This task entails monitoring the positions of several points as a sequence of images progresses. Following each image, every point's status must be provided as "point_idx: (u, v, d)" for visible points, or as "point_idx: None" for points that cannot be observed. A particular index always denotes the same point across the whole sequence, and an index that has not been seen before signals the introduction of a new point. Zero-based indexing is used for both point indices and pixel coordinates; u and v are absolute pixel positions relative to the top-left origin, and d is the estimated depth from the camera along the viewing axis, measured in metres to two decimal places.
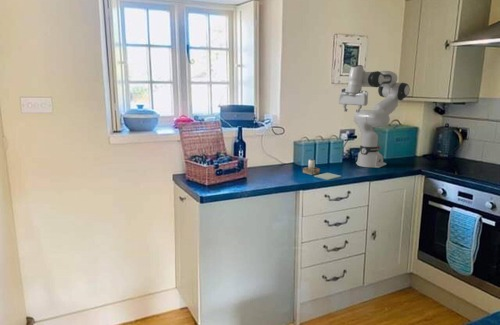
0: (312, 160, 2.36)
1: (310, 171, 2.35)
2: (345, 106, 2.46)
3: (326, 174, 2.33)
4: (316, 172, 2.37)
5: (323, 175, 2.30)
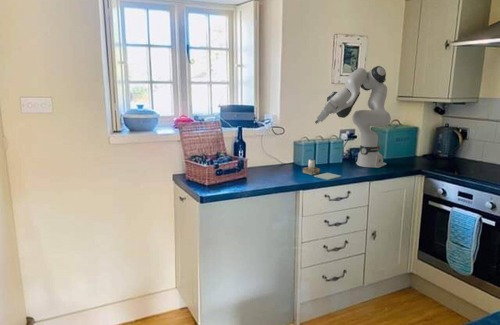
0: (312, 160, 2.36)
1: (310, 171, 2.35)
2: (320, 114, 2.37)
3: (326, 174, 2.33)
4: (316, 172, 2.37)
5: (323, 175, 2.30)
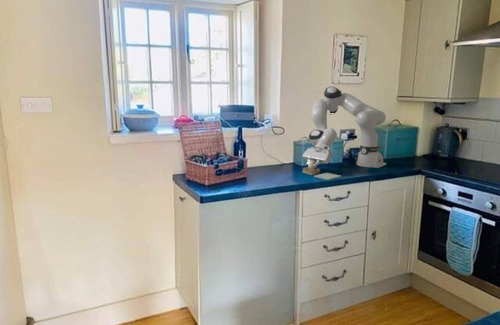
0: (312, 160, 2.36)
1: (310, 171, 2.35)
2: (317, 161, 2.36)
3: (326, 174, 2.33)
4: (316, 172, 2.37)
5: (323, 175, 2.30)
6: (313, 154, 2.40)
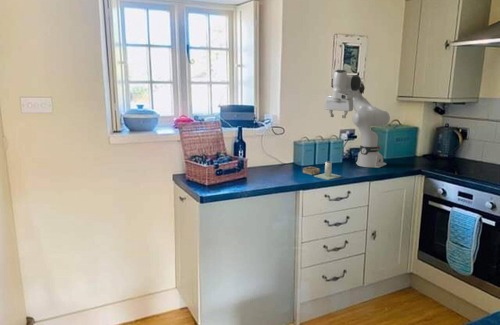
0: (329, 162, 2.27)
1: (310, 171, 2.35)
2: None
3: None
4: (316, 172, 2.37)
5: (323, 175, 2.30)
6: (334, 105, 2.38)
